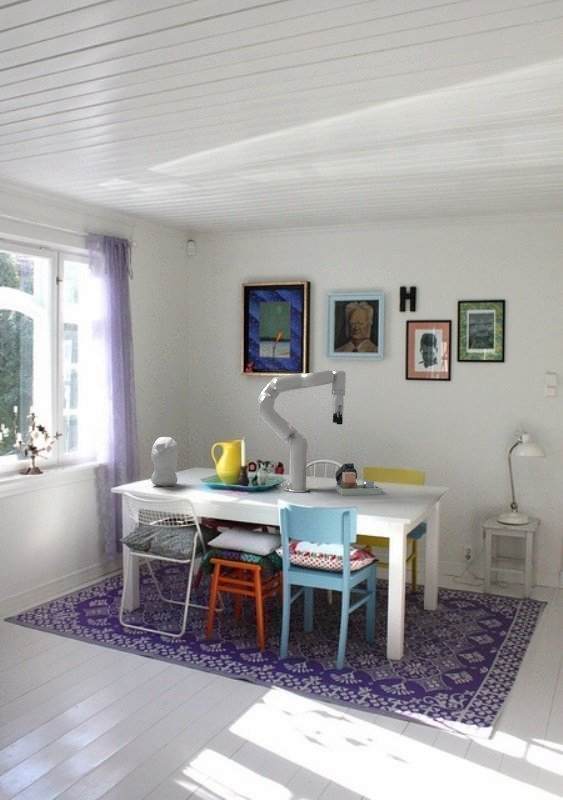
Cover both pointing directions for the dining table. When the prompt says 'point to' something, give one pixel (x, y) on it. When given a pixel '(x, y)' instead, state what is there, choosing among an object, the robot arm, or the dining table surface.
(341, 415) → the robot arm
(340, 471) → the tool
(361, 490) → the pale green flat tray
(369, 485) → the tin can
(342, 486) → the walnut block
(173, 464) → the bust
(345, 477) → the terracotta box
